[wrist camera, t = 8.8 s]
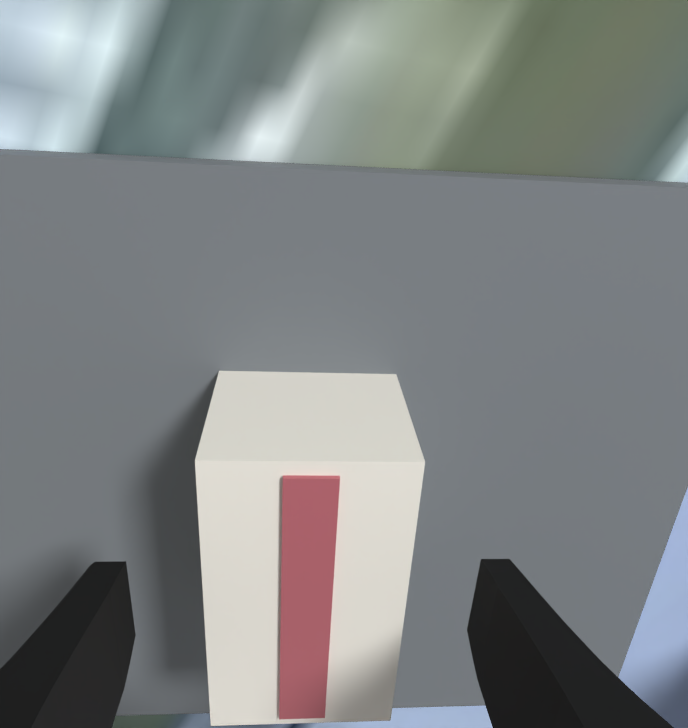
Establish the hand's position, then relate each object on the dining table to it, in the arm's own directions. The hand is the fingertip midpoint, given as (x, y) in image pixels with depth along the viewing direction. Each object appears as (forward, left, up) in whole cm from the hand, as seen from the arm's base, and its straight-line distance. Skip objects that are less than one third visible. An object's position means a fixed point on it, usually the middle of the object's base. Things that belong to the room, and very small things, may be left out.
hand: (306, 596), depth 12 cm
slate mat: (0, 0, -4) cm, 4 cm away
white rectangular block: (0, 0, -3) cm, 3 cm away
